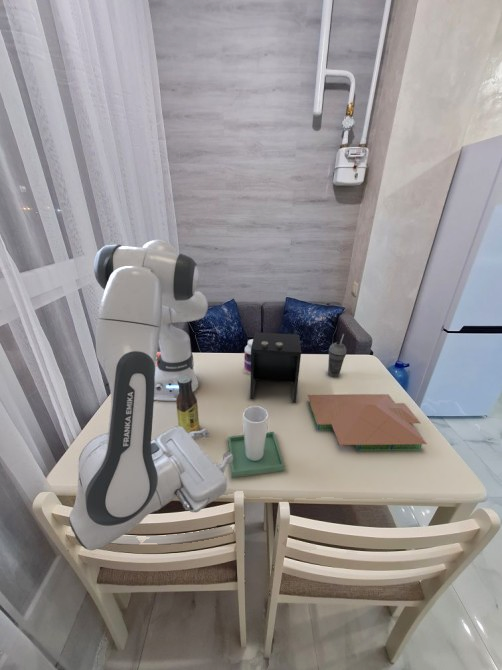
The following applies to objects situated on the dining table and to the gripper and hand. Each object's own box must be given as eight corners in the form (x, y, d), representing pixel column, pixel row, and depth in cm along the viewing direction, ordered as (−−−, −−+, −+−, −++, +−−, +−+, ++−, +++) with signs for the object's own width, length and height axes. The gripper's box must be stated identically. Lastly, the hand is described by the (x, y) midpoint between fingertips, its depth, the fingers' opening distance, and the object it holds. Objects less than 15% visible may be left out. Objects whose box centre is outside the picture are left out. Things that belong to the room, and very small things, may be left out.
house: (433, 451, 78) (441, 431, 75) (322, 452, 77) (326, 432, 74) (393, 401, 99) (399, 383, 95) (306, 401, 98) (308, 383, 94)
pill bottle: (240, 369, 117) (240, 340, 111) (255, 364, 122) (255, 336, 115) (251, 378, 111) (252, 348, 105) (266, 372, 116) (267, 342, 110)
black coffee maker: (295, 403, 97) (301, 349, 87) (250, 399, 99) (250, 346, 89) (294, 381, 110) (299, 331, 100) (254, 378, 111) (255, 329, 102)
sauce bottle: (195, 440, 81) (189, 388, 72) (176, 437, 82) (168, 385, 73) (202, 425, 86) (198, 375, 78) (185, 422, 88) (178, 372, 79)
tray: (232, 477, 70) (231, 472, 69) (228, 441, 81) (228, 436, 80) (283, 470, 72) (284, 465, 71) (273, 436, 83) (273, 431, 82)
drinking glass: (246, 466, 72) (246, 425, 66) (240, 447, 78) (239, 407, 72) (269, 460, 74) (272, 420, 67) (261, 442, 80) (263, 403, 73)
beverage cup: (328, 368, 119) (334, 328, 110) (344, 373, 115) (352, 332, 107) (322, 375, 114) (328, 334, 105) (338, 381, 110) (346, 338, 101)
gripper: (188, 506, 46) (247, 462, 55) (143, 438, 60) (195, 411, 69) (191, 527, 49) (247, 481, 58) (147, 457, 63) (197, 429, 71)
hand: (219, 442), depth 63 cm, fingers open, 8 cm apart
